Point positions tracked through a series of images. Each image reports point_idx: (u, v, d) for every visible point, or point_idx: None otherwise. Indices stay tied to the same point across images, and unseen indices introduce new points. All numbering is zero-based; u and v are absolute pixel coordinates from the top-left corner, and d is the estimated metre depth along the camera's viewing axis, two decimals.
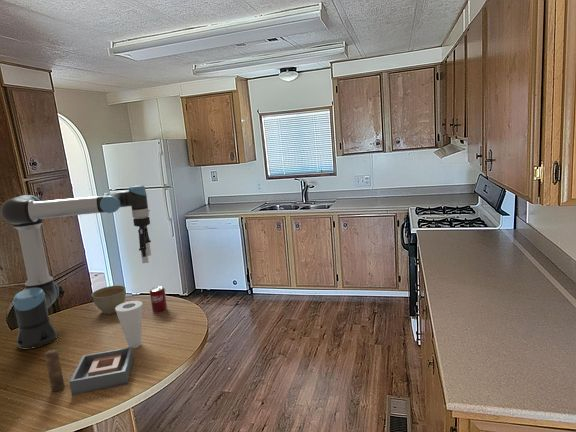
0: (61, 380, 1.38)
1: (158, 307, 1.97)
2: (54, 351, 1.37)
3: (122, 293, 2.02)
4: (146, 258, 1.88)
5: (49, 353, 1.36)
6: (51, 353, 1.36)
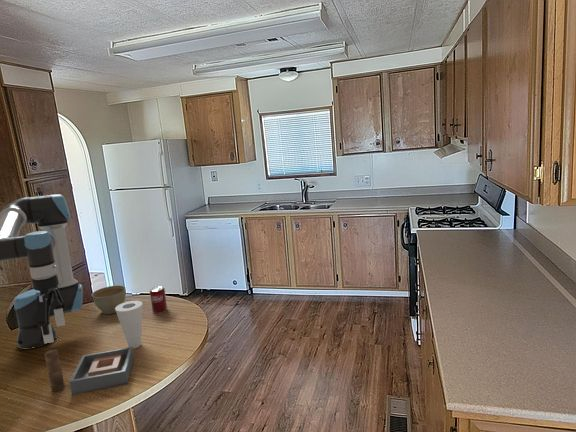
0: (61, 380, 1.38)
1: (158, 307, 1.97)
2: (54, 351, 1.37)
3: (122, 293, 2.02)
4: (50, 336, 1.31)
5: (49, 353, 1.36)
6: (51, 353, 1.36)
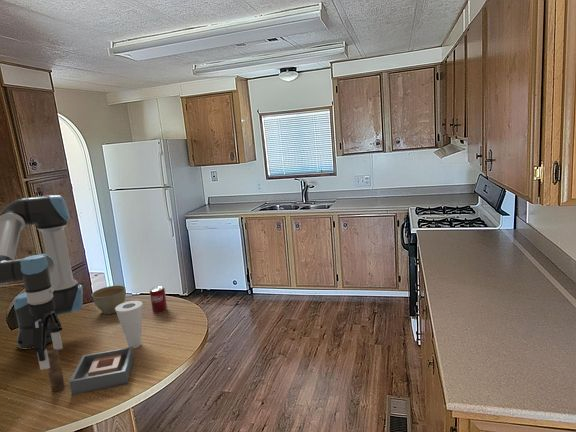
0: (61, 380, 1.38)
1: (158, 307, 1.97)
2: (55, 351, 1.37)
3: (122, 293, 2.02)
4: (46, 362, 1.30)
5: (49, 353, 1.36)
6: (51, 353, 1.36)
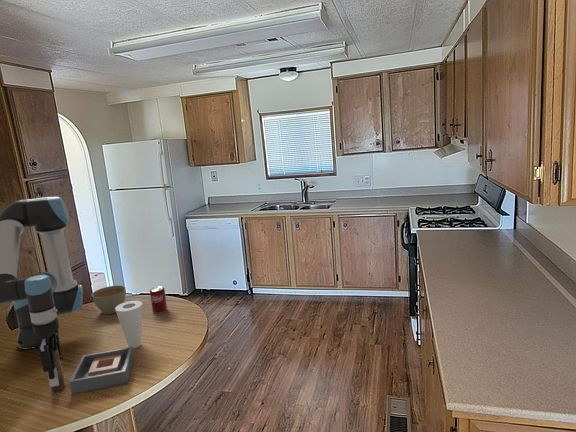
0: (61, 380, 1.38)
1: (158, 307, 1.97)
2: (55, 351, 1.37)
3: (122, 293, 2.02)
4: (55, 380, 1.36)
5: None
6: None
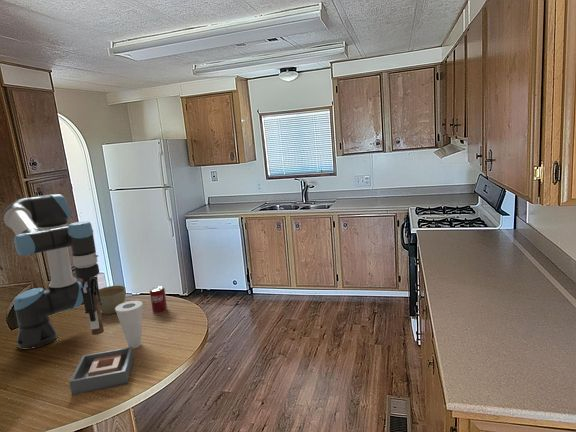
0: (101, 323, 1.44)
1: (158, 307, 1.97)
2: (95, 295, 1.43)
3: (122, 293, 2.02)
4: (96, 323, 1.42)
5: None
6: None
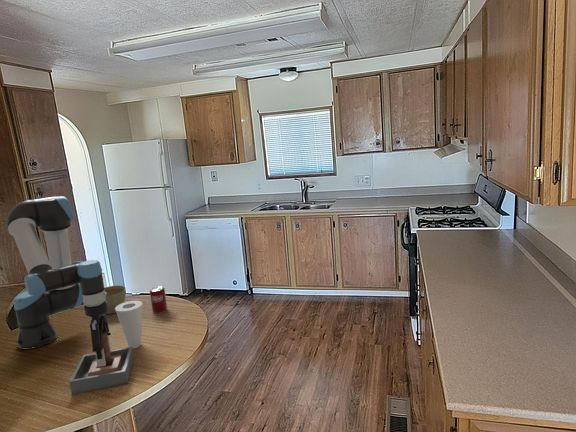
0: (110, 360, 1.47)
1: (158, 307, 1.97)
2: (103, 333, 1.46)
3: (122, 293, 2.02)
4: (102, 360, 1.42)
5: None
6: None
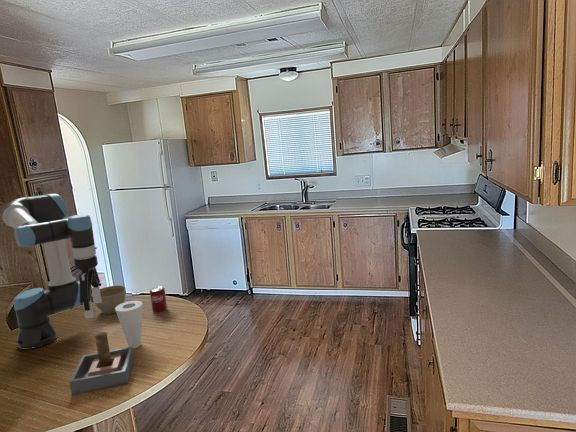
0: (110, 360, 1.48)
1: (158, 307, 1.97)
2: (104, 333, 1.46)
3: (122, 293, 2.02)
4: (90, 312, 1.42)
5: (99, 335, 1.45)
6: (101, 335, 1.45)
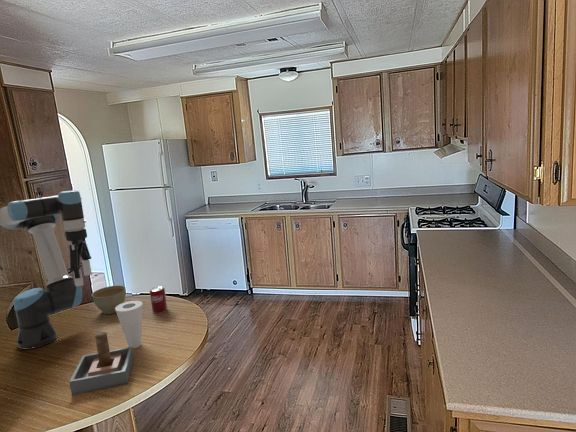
0: (110, 360, 1.48)
1: (158, 307, 1.97)
2: (104, 333, 1.46)
3: (122, 293, 2.02)
4: (80, 280, 1.53)
5: (99, 335, 1.45)
6: (101, 335, 1.45)
